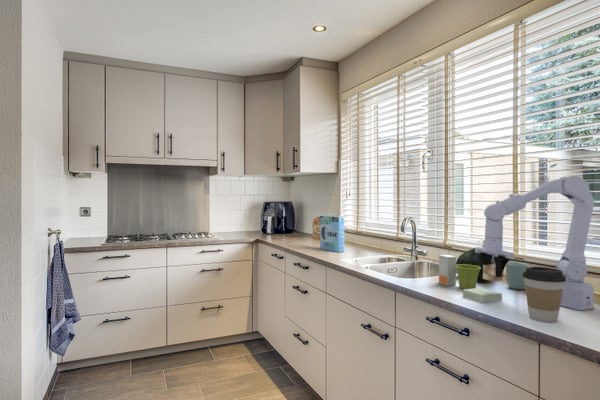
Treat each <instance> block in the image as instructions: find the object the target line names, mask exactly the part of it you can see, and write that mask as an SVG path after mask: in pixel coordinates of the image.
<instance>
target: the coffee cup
mask: <svg viewBox="0 0 600 400" xmlns="http://www.w3.org/2000/svg"><path fill="white" fill-rule="evenodd" d="M522 276H523V277H524V280H525V288H524V289H525V294H526V302H527V310H528V315H529V318H530V319H531V320H534V321H536V322H541V323H549V324H550V323H551V324H552V323H557V321H558V318H559V316H560V315H559V313H560V309H561V305H560V303H561V298H562V292H563V286H564V282H565V281H566V277H565V276H564V275H563V273H562V271H561V270H558V269H557V268H554V267H553V268H552V267H545V266H528V268H526V271H525V272H523V275H522Z"/></svg>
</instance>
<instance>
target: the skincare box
mask: <svg viewBox="0 0 600 400" xmlns="http://www.w3.org/2000/svg"><path fill="white" fill-rule="evenodd" d="M438 256H439V257H438V283H440V284H441V285H445V286H447V287H451V286H456V284H457V268H456V261H457V256H455V255H449V254H439V255H438Z"/></svg>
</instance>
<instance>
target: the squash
mask: <svg viewBox="0 0 600 400" xmlns="http://www.w3.org/2000/svg"><path fill="white" fill-rule="evenodd" d="M478 255H480V253H476V252H475V247H473V248H471V249H468V250H467V251H465V252H463V253H461V254H460V255H459V256H458V257H457V258H456V265H459V264H466V265H474V266H479V267H481V269H480V270H479V273H478V278H477V282H481V281H487V280H486V279H483V267H482V264H481V261H480V259H479V258H478ZM491 264H493V262H492V260H491ZM456 269H457V267H456Z"/></svg>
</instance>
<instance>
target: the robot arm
mask: <svg viewBox="0 0 600 400" xmlns="http://www.w3.org/2000/svg"><path fill="white" fill-rule="evenodd" d="M550 194H560V195H561V196H564V197H566V198H567V199H569V201H570V202H572V204H573V205H574V206H573V207H574V208H573V210H572V217H571V222H570V226H569V232H568V235H567V236H568V237H567V240H566V246H565V250H564V251H563V252H562V254H561V257H560V259H558V261H557V263H556V265H555V266H556V269H558V270H561V271H562V273H563V275H564V276H565V277H566V281H565V282H564V286H563V292H562V298H561V303H560V307H565V308H569V309H573V310H575V311H585V310H591V309H595V308H596V307H595V306H594V286H593V284H591V283H590V282H587V281H585V278H586V277H587V275H588V269H587V266H586V264H587V263H586V262H587V259H586V257H585V251H586V250H585V249H586V246H587V245H586V244H587V239H588V236H589V231H590V226H591V222H592V221H591V220H592V217H593V212H594V207H595V206H594V205H595V199H594V197H593V195H592V193H591V190H590V183H588V182H587V181H586V180H585V178H583V177H582V176H580V175H569V176H563V177H560V178H558V179H554V180H551V181H548V182H545V183H543V184H541V185H539V186H537V187H535V188H533V189H532V190H529V191H527V192H524V193H523V194H519V193H515V194H514V193H510V194H508V196H507V197H505V198H503V199H501V200H499V199H498V200H496V201H495V203H494V204H492V203H491V204H488V205H487V206H486V208H485V209H484V211H483V214H484V217H485V225H484V247H481V246H476V247H475V246H474V248H475V252H476V253H480V255H478V258H479V259H480V261H481V264H482V267H483V265H490V264H491V261H492V260H493V262H494V265H495V267H496V277H502V274H504V270H505V269H506V264H507V263H508V262H510V259H514V252H512V251H508V250H507V251H506V250H503V243H504V242H503V235H504V224H503V223H504V222H503V219H505V216H509V215H512V214H514V213H516V212H518V211H521V210H523V209H525V208H526V205H527V204H528V203H529V202H532V201H534V200H536V199H539V198H541V197H544V196H546V195H550Z"/></svg>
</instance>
